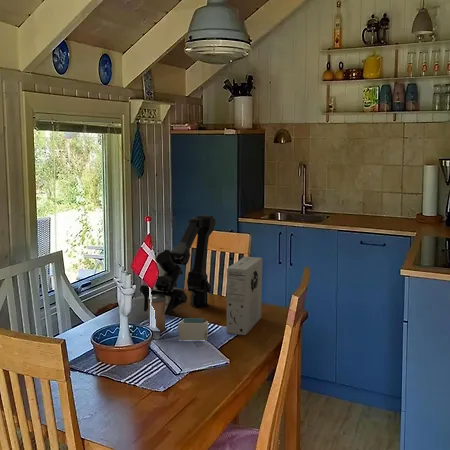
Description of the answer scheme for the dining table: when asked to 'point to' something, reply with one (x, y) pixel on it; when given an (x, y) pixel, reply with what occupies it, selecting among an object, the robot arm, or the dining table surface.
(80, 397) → the dining table surface
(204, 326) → the pusher lane
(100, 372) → the dining table surface
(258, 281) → the cereal box
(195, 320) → the pusher paddle
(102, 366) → the dining table surface
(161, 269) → the bath foam
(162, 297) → the grey brown rounded piece
